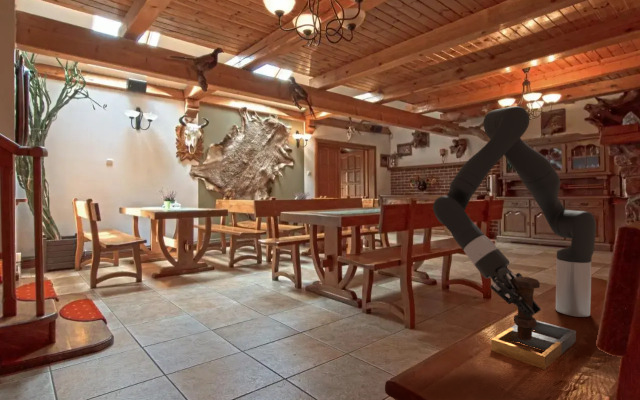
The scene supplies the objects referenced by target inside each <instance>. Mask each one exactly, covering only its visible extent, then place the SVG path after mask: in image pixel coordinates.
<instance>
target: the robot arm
mask: <svg viewBox="0 0 640 400" xmlns="http://www.w3.org/2000/svg"><path fill="white" fill-rule="evenodd" d="M482 124H483V125H482V126H483V129H484V133H485V134H486V136H487V137H488V138H489V141H487V143H486V144H485V145H484V146H483V147H482V148H480V149H479V150H478V151H477V152H476V153H475V154H474V155H473V156H471V157H470V158H469V159H468V160H467V161H466V162H465V163H464V164H463V165H462V167H460V169H459V170H458V172H457V173H456V175H455V176H454V178H453V180H451V183H450V186H449V191H448V192H447V194H446V195H442V196H439V197H437V198H436V199H435V201H434V202H433V204H432V211H433V213H434V216H435V218H436V219H437V221H438V222H439V223H440V224H442V225H444V226H445V228H446V229H447V230H448V231H449V232H450V233H451V236H452V237H453V239H454V240H455V242H456V243H457V244H458V246H459V247H460V248H461V250H462V251H464V253H465V255H466V257H467V258H468V259H469V261H471V263H472V264H473V265H474V266H475V268H476V269H477V270H478V272H479V273H480V274H481V275H482V277H483V278H484V279H491V281H492V282H493V283H492V284H491V285H490V286H489V287H490V289H491V290H493V292H494V293H496V294H497V295H498V296H499V297H500V298H502V299H503V300H504V301H505V302H506V303H508V304H509V305H512V304H513V305H514V306H515V307H517V309H518V308H519V309H520V310H521V312H522V313H523V314H524V315H525V316H526V317H527V318H529V317H530V316H532V315H533V316H534V315H535V314H537V313H539V312H540V311H541V307H540V305H538V303H537V302H536V301H535V300H534V299H533V309H532V308H531V307H530V306H529V305H528V304H527V303H526V301H525V300H523V298H522V296H521V295H520V294H519V292H518V287H517V286H516V285H515V284H514V282H513V279H514V278H515V277H523V276H522V274H521V273H520V272H518V273H516V274H515V273H514V272H513V271H512V270H511V269H509V267H508V266H509V264H510V260H509V259H508V258H507V257H506V256H505V254H504V253H503V252H502V251H501V250H500V249H499V248H498V247H497V245H496V244H495V243H494V242H493V241H492V239H490V238H489V237H487V236H486V235H485V234H484V232H483V231H482V230H481V228H479V226H478V225H477V224H475V223H474V221H473V220H472V219H471V218H470V217H469V215H468V214H467V213H466V208H467V206H468V204H469V202H470V200H471V198H472V196H473V195H474V194H475V192H476V191H477V190H478V188H479V187H480V185H481V184H482V183H483V181H484V180H485V178H486V177H487V175H489V173H490V171H491V170H492V169H493V167H494V166H495V165H496V164H497V163H498V162H499V161H500V160H501V159H502V157H503V156H504V157H505V158H506V159H507V161H508V163H509V164H510V166H511V167H512V168H513V170H514V171H515V173H516V174H517V175H518V177H519V178H520V180H521V182H522V183H523V185H524V186H525V188H526V189H527V190H528V191H529V193H530V195H531V196H532V198H533V199H534V201H535V202H536V204H537V205H538V207H539V208H540V211H542V213H543V215H544V218H545V219H546V222H547V223H548V226H549V227H550V229H551V230H552V232H553V233H554V234H555V235H556V236H558V237H560V238H564V239H569V240H570V239H571V243H570V245H569V246H568V247H564V248H559V249H557V250H556V265H555V266H556V273H555V277H556V278H555V280H556V281H555V310H556V311H557V312H558V313H560V314H563V315H567V316H571V317H579V318H587V317H590V316H591V300H592V257H593V254H594V253H595V252H594V251H595V241H596V231H597V222H596V219H595V216H594V214H592V213H591V212H590V211H584V210H572V209H571V210H570V209H567V208H565V206H564V204H563V203H562V202H561V201H560V199H559V192H560V187H561V180H560V179H561V178H560V176H559V174H558V172H557V171H556V169H555V167H554V166H553V165H552V163H551V162H550V160H549V159H547V157H545V156H544V155H543V154H542V153H540V152H539V151H537V150H536V149H534V148H532V147H531V146H530V145H528V144H527V143H526V142H525V141H524V140H523V139H521V138H522V136H523V135H524V134H525V132H526V131H527V130H528V127H529V125H530V115H529V113H528V111H527V110H526V108H523V107H522V106H516V105H515V106H514V105H513V106H507V107H502V108H498V109H494V110H490V111H488V113H486V114H485V116H484V118H483V123H482ZM533 316H532V317H533Z"/></svg>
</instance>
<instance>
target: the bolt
mask: <svg viewBox="0 0 640 400" xmlns="http://www.w3.org/2000/svg"><path fill="white" fill-rule="evenodd" d="M513 282H514V284H515V285H516V286H517V287H518V292H519V294H520V295H521V296H522V298H523V300H525V301H526V303H527V304H528V305H529V306H530V307H531V308H532V309H533V300H534V292H535V289H540V287H541V286H540V285H541V284H540V281H539V280H538V279H536V278H533V277H529V276H528V277H527V276H522V277H515V278H514V279H513ZM533 316H534V315H532V316H530V317H529V318H527V317H526V316H525V315H524V314H523V313H522V312H521V310H520V309H519V308H518V307H517V314H515V315H514V316H513V322H514V325H517V326H518V327H517V329H518V331H517V337H518V338H519V339H520V340H524V341H529V340H531V339H532V332H533V331H532V328H534V327H536V320H537V319H536V318H535V317H533Z"/></svg>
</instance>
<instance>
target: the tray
mask: <svg viewBox="0 0 640 400" xmlns="http://www.w3.org/2000/svg"><path fill="white" fill-rule="evenodd" d="M535 320H536V327H534V328H532V330H535V331H537V332H534V331H532V339H531V340H529V341H524V340H520V339H519V338H518V337H517V331H518V329H517V327H518V326H517V325H516V324H514V325H513V326H511V327H509V328H508V329H506V330H504V331H502V332H501V333H499V334H497V335H495V337H493V338H491V339H490V341H491V345H490V346H491V347H490V350H491V351H492V352H493V353H497V354H500V355H502V356H505V357H507V358H510V359H513V360H516V361H519V362H522V363H525V364H527V365H530V366H534V367H535V368H539V369H542V370H546V369H547V368H548V367H550V365H552V364H553V363H554V362H555V361H556V360H557V359H558V358H559V357H561V355H563V354H564V353H565V352H566V351H567V350H568V349H570V348H571V347H572V346H573V345H574V344H575V343H576V339H577V337H576V336H577V331H576V329H575V330H574V329H570V328H566V327H562V326H558V325H555V324H552V323H548V322H544V321H540V320H537V319H535ZM538 332H539V333H538ZM541 333H542V334H541ZM512 341H514V342H513V343H515V342H520V343H522V344H525V345H528V346H531V347H535V348H538V349H541V350H544V352H543V351H542V353H540V352H537V351H534V350H531V349H529V348H525V347H522V346H519V345H516V344H513V343H511V342H512ZM525 345H524V346H525ZM528 346H527V347H528ZM531 347H530V348H531Z"/></svg>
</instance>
